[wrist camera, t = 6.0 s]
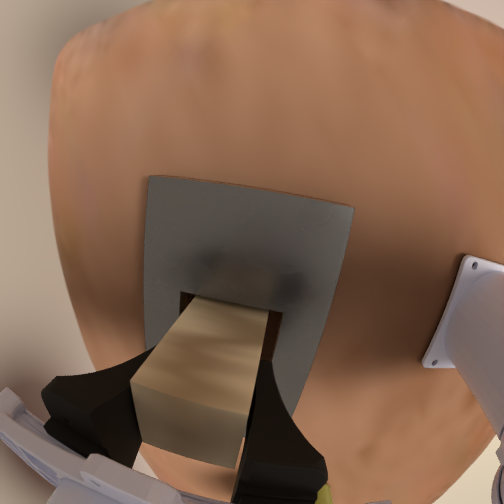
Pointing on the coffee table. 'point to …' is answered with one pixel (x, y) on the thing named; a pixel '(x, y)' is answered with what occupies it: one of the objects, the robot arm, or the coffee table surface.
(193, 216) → the slotted plate
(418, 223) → the coffee table surface
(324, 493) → the plant pot
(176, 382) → the birch peg
